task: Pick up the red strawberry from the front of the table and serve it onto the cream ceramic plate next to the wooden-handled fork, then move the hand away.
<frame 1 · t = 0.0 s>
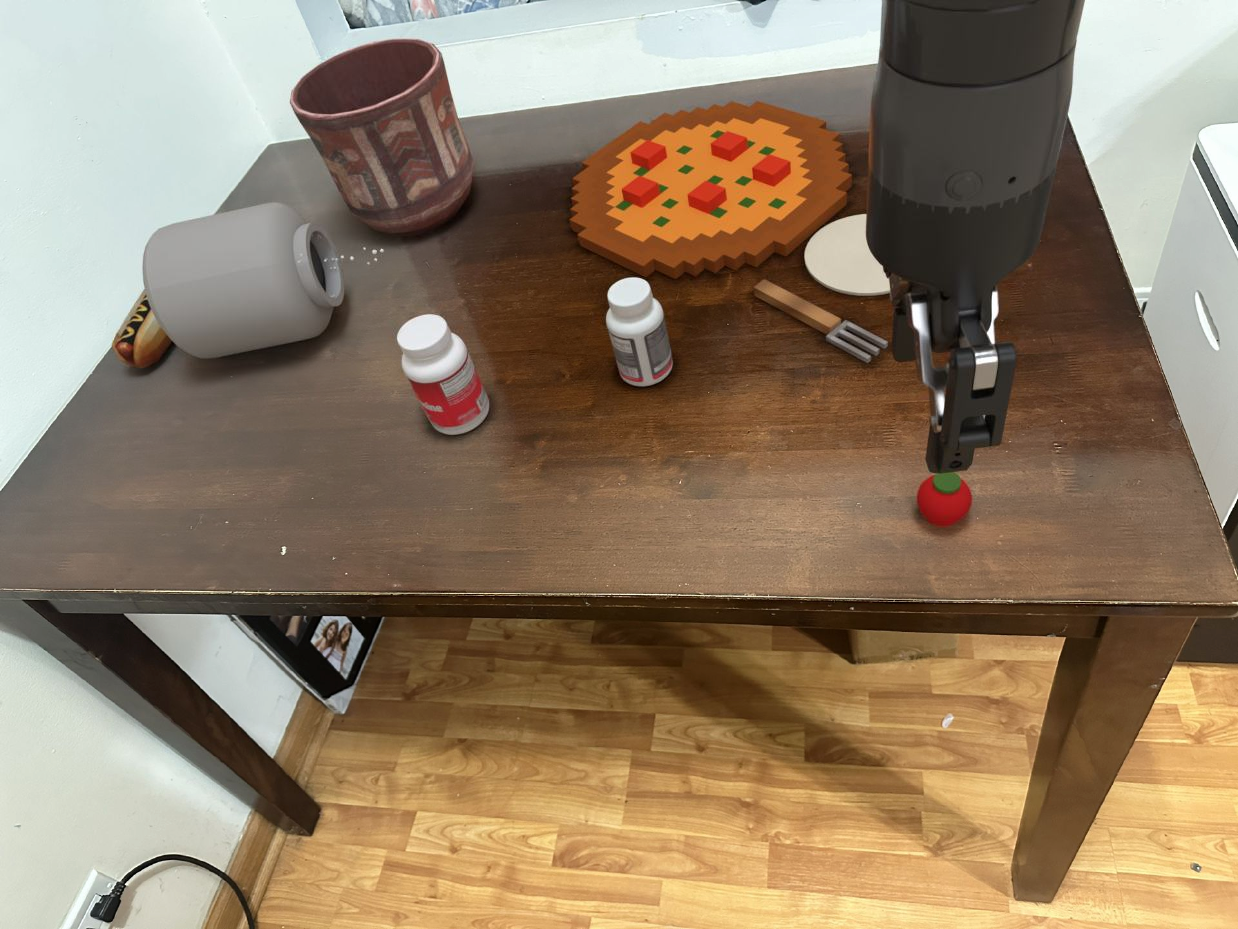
hand: (928, 408, 49), 21 cm above the table, tool pointing down, fingers open, 8 cm apart
strawberry: (941, 513, 68), on the table
pottery: (421, 211, 111), on the table
plate: (868, 254, 90), on the table
pizza: (706, 189, 103), on the table
pill bottle 2: (646, 370, 85), on the table
hot dog: (169, 338, 104), on the table
pill bottle: (462, 415, 86), on the table
fork: (835, 332, 83), on the table
jar: (313, 316, 101), on the table
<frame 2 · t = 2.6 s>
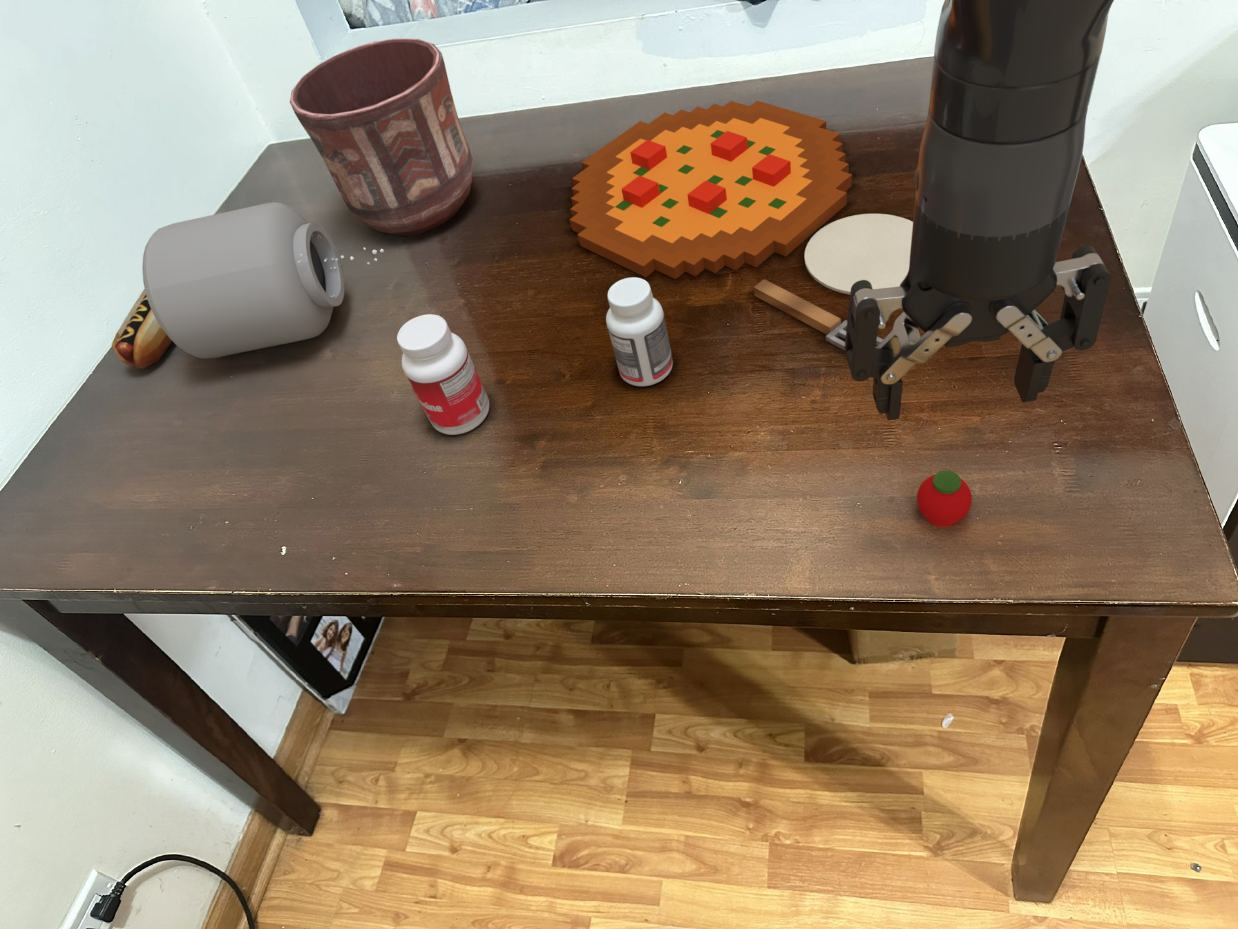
hand: (956, 401, 57), 14 cm above the table, tool pointing down, fingers open, 8 cm apart
nothing on the table moved.
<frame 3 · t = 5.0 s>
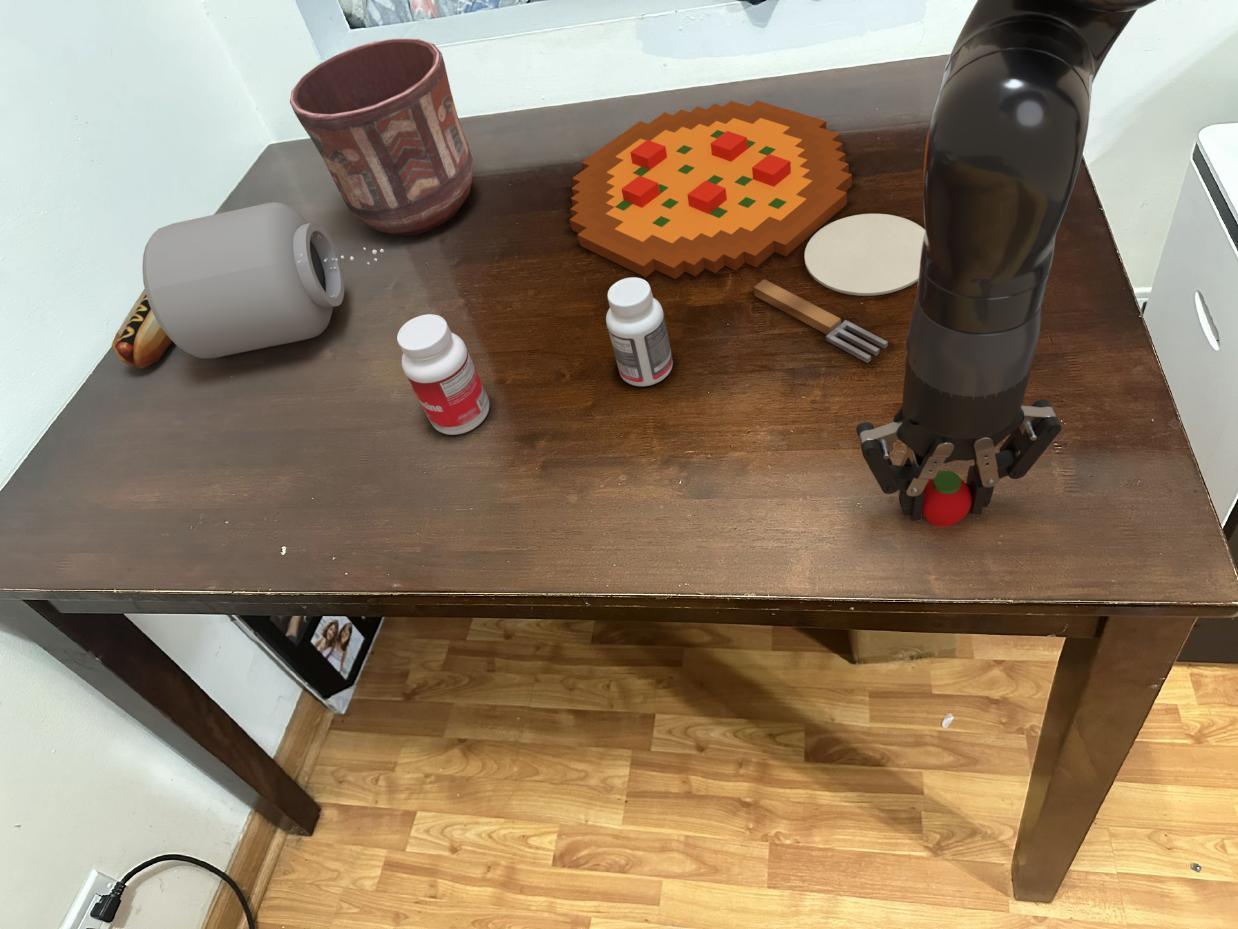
hand: (942, 508, 68), 1 cm above the table, tool pointing down, fingers closed on strawberry, 4 cm apart
strawberry: (941, 513, 68), on the table, touching gripper
everything else where it was.
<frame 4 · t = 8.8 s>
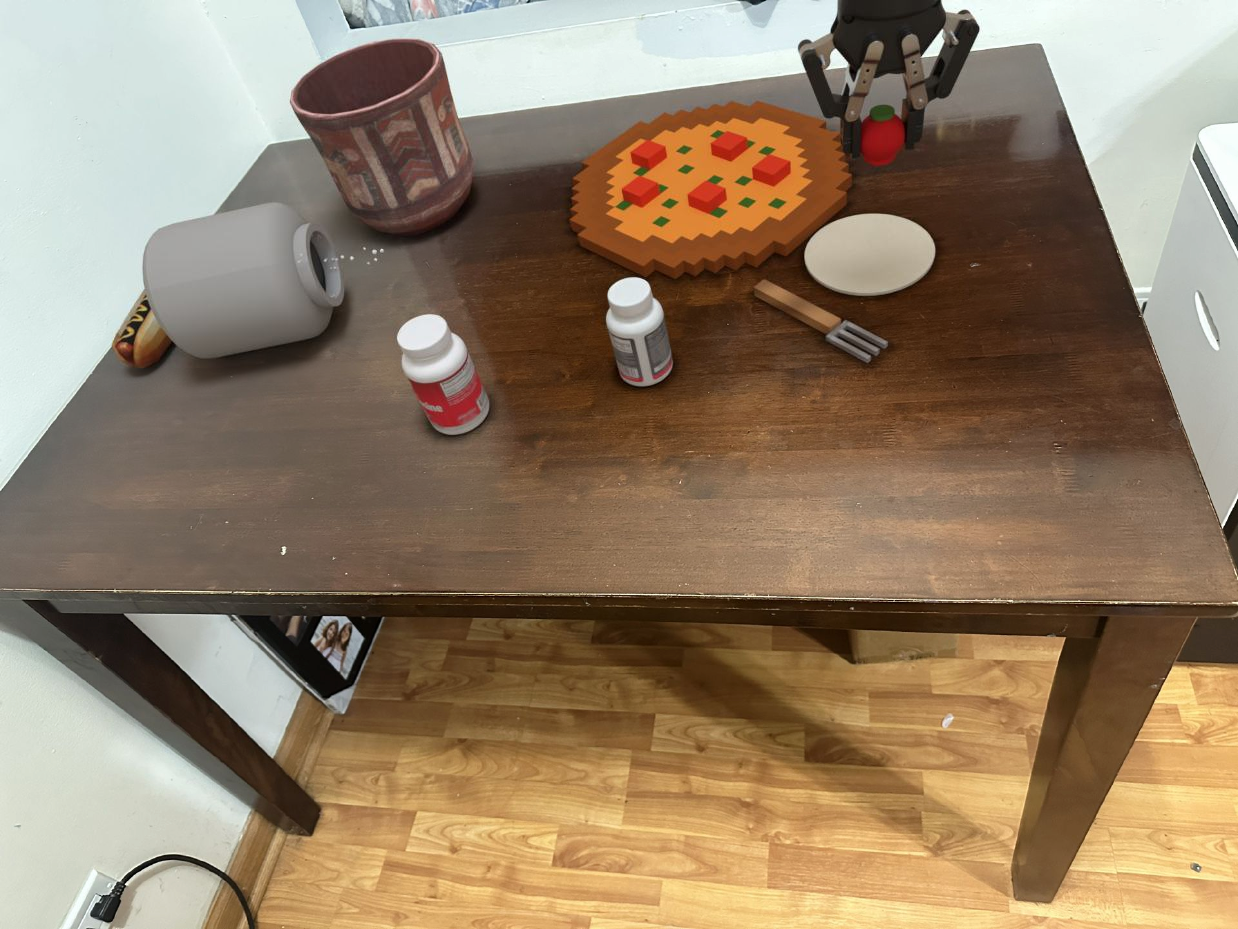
hand: (880, 148, 74), 16 cm above the table, tool pointing down, fingers closed on strawberry, 4 cm apart
strawberry: (879, 157, 75), point 15 cm above the table, touching gripper
everything else where it was.
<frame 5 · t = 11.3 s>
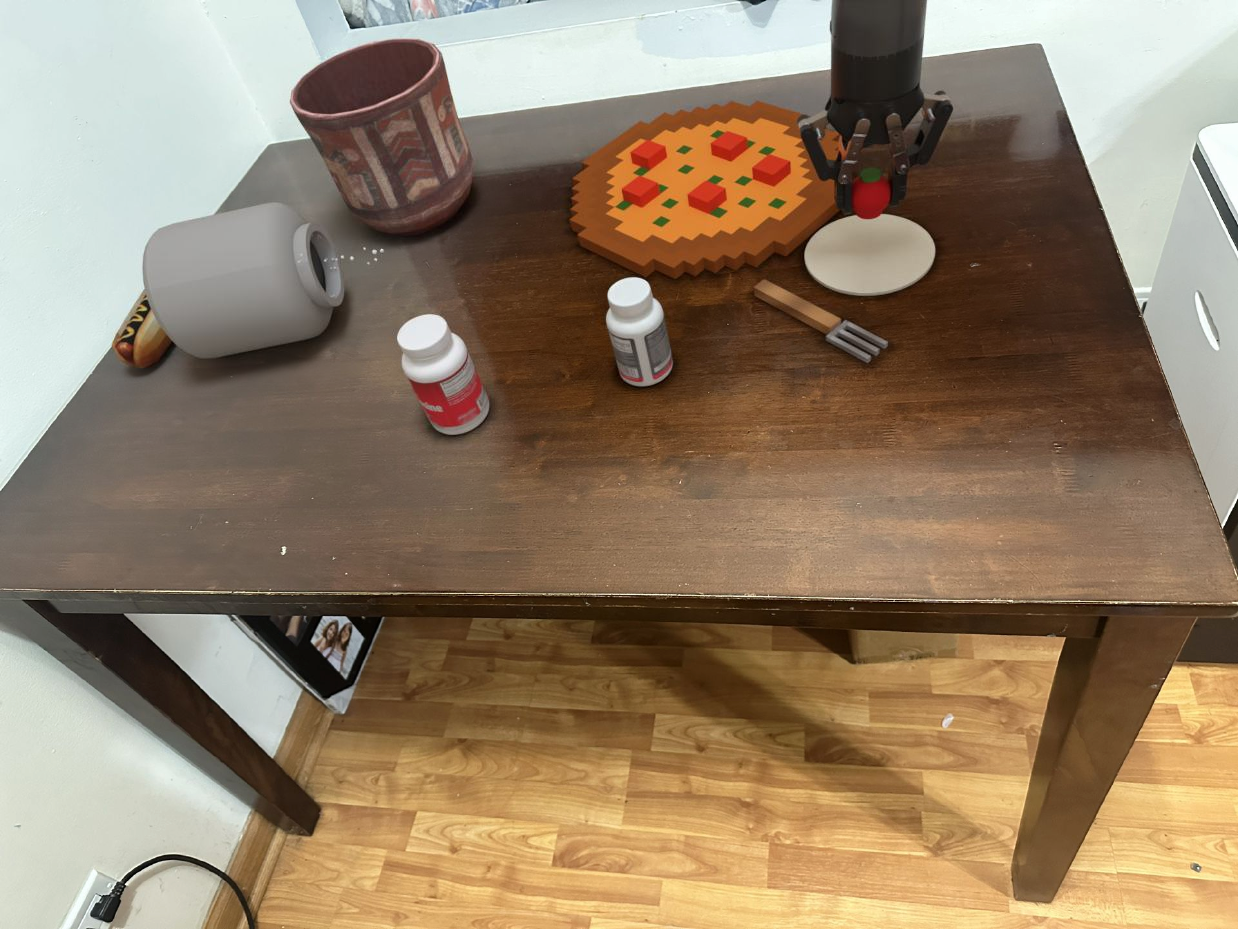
hand: (869, 205, 85), 6 cm above the table, tool pointing down, fingers closed on strawberry, 4 cm apart
strawberry: (868, 211, 86), point 5 cm above the table, touching gripper
everything else where it was.
when the fingers open (1 cm above the table, at t = 12.9 s): strawberry stays where it is, resting on plate.
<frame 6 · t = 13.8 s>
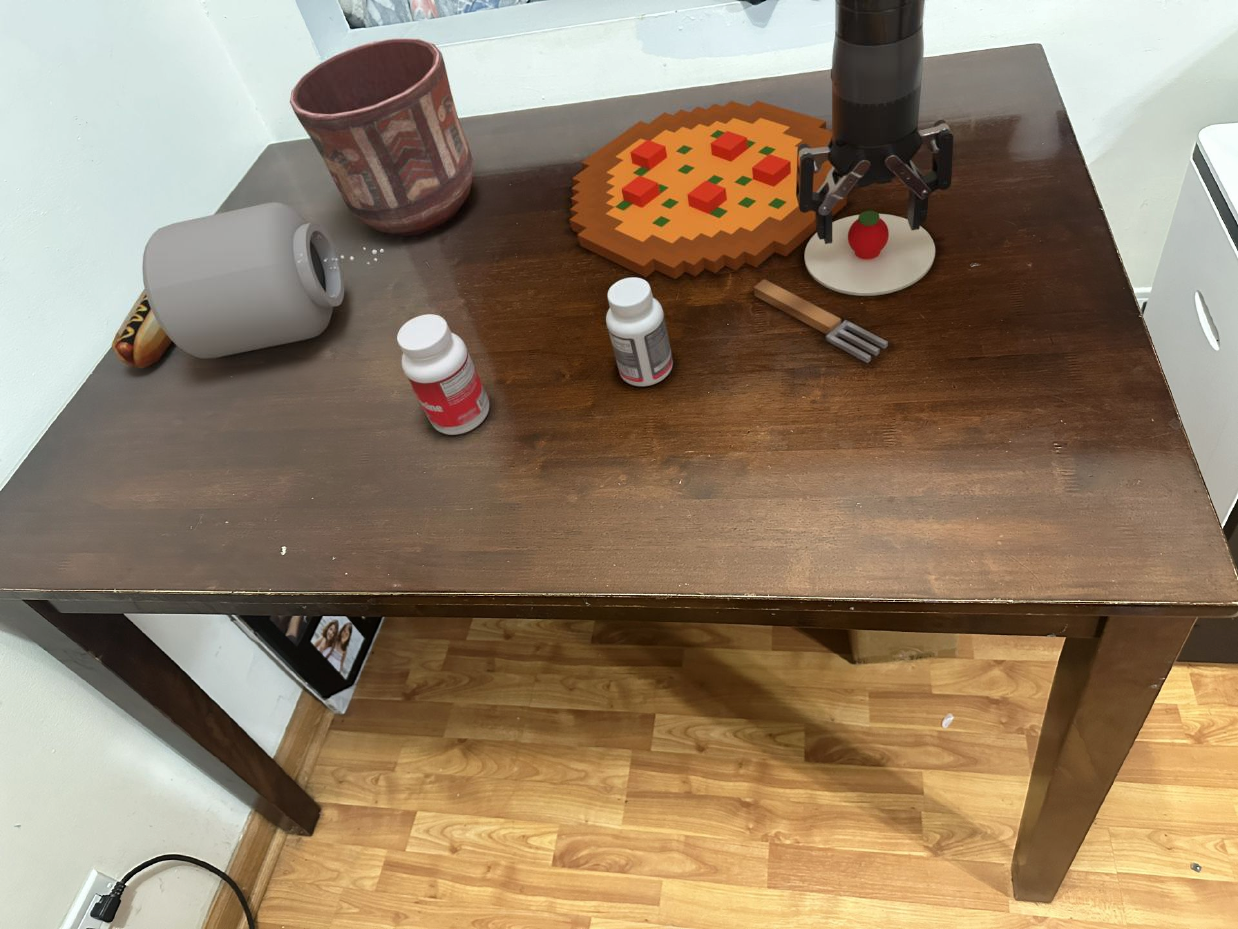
hand: (870, 232, 87), 3 cm above the table, tool pointing down, fingers open, 8 cm apart
strawberry: (867, 251, 89), resting on plate
everything else where it was.
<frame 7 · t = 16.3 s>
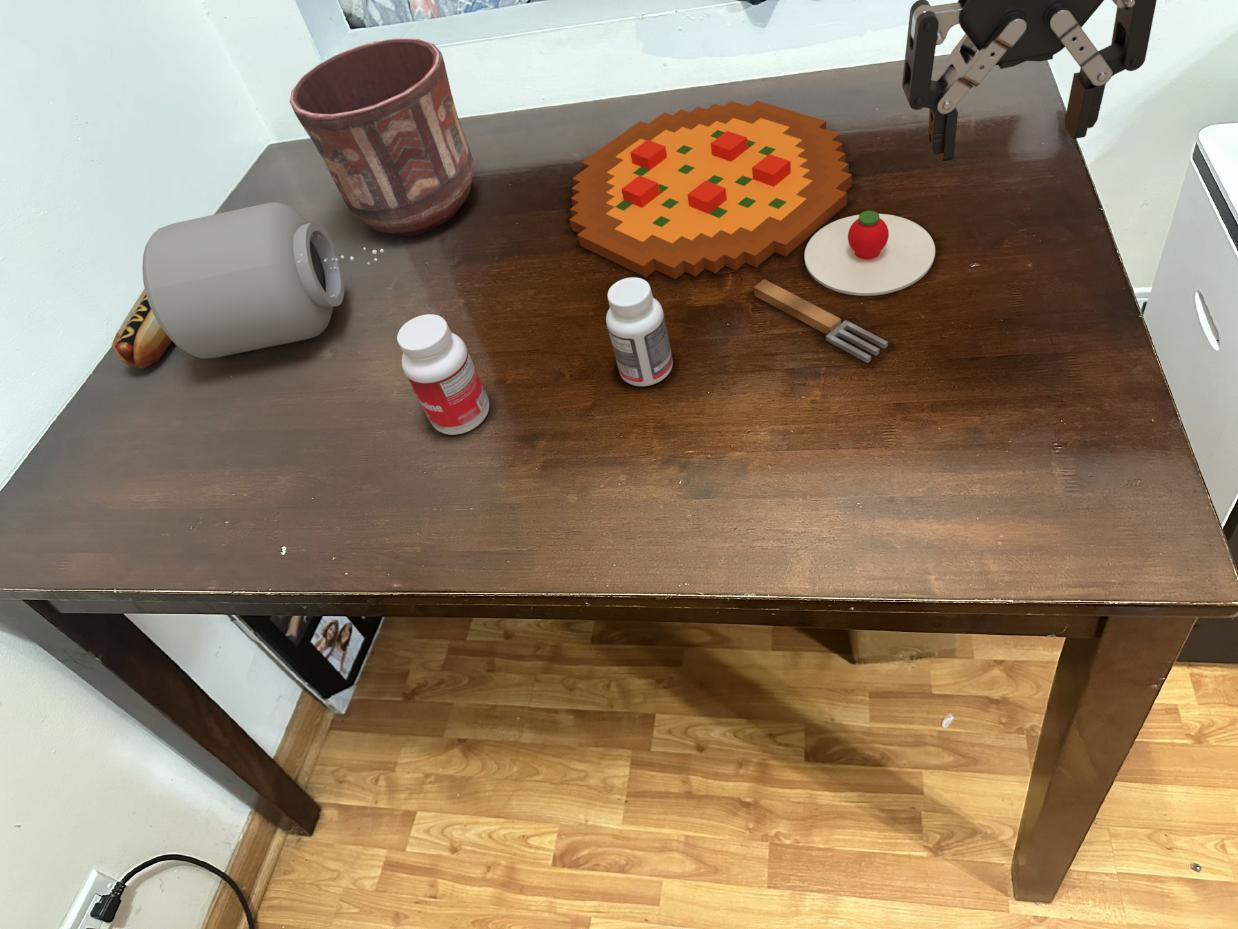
hand: (1008, 143, 60), 23 cm above the table, tool pointing down, fingers open, 8 cm apart
nothing on the table moved.
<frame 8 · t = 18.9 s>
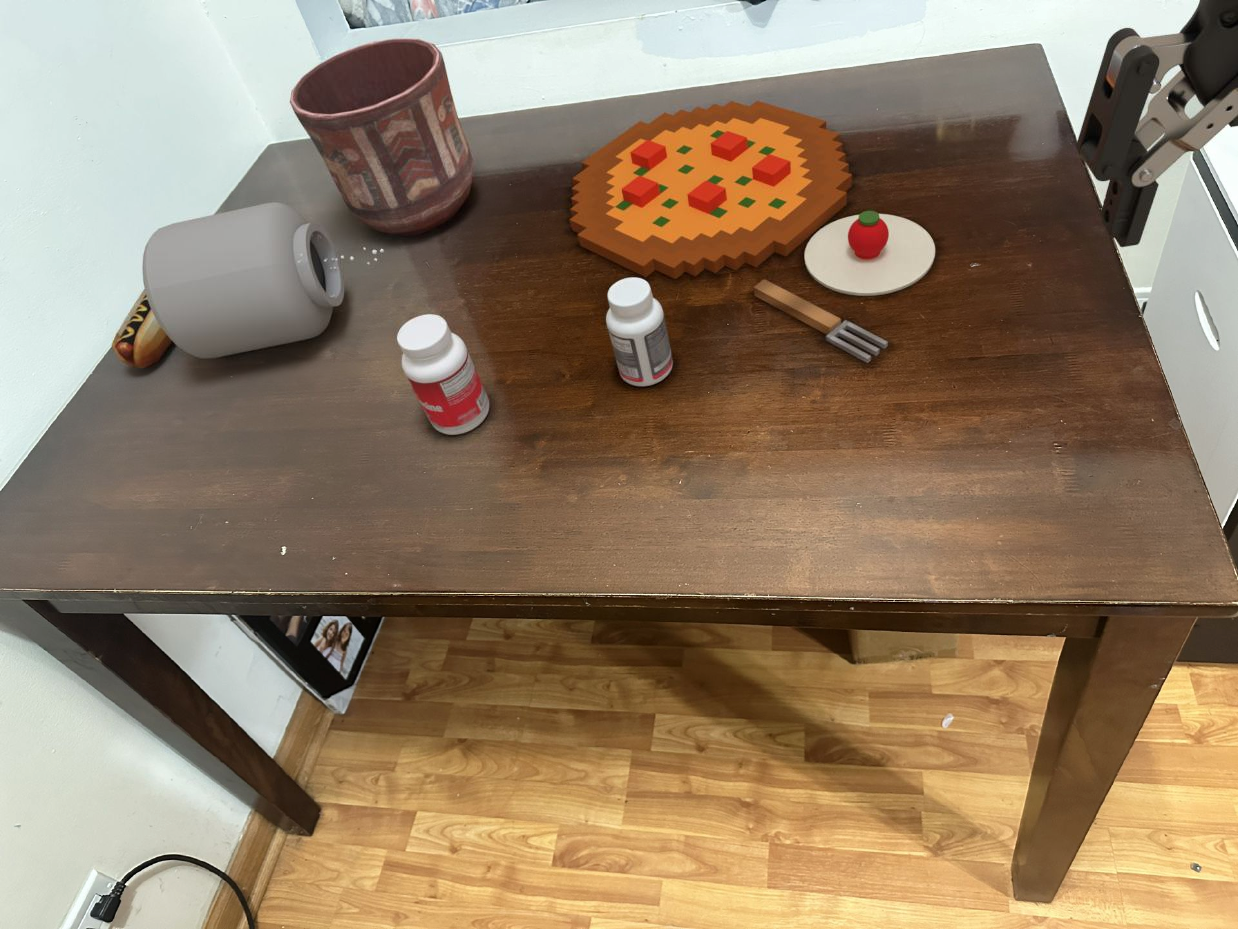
hand: (1212, 223, 43), 28 cm above the table, tool pointing down, fingers open, 8 cm apart
nothing on the table moved.
at the end: strawberry inside the target area on the plate (0.1 cm from its centre), point 0.4 cm above the plate's base; the gripper is holding nothing; strawberry moved 33.3 cm from its start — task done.
